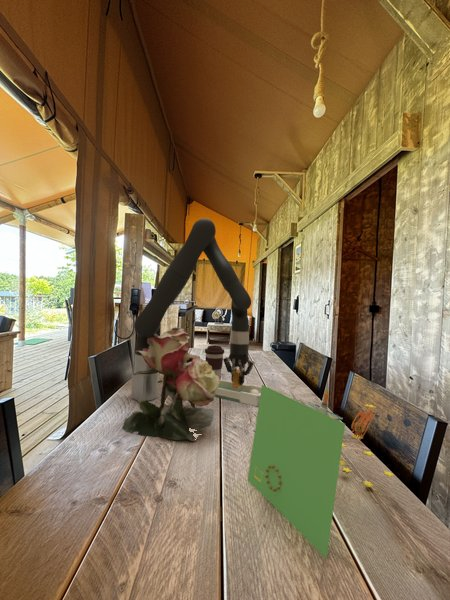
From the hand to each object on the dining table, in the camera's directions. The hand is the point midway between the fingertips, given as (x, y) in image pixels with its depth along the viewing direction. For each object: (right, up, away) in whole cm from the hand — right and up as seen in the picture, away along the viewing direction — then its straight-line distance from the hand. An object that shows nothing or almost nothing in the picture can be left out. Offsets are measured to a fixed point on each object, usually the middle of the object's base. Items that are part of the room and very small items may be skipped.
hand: (237, 383), depth 116 cm
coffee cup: (-11, -4, +27) cm, 30 cm away
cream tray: (-1, -5, 0) cm, 5 cm away
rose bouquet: (-21, -5, -24) cm, 32 cm away
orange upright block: (0, -4, 0) cm, 4 cm away
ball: (+6, -3, -3) cm, 8 cm away
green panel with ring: (+16, -7, -55) cm, 58 cm away
